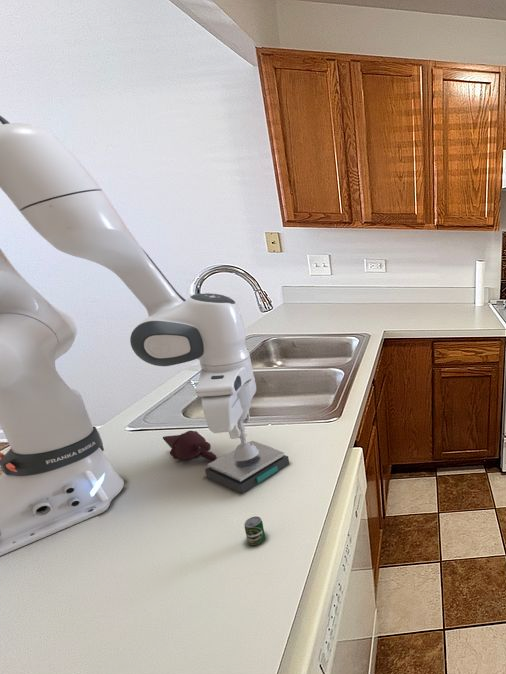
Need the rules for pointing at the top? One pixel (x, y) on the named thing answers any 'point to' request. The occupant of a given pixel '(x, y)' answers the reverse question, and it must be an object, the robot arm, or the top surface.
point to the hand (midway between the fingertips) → (240, 429)
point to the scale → (249, 481)
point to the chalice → (245, 448)
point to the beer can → (254, 530)
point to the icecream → (189, 446)
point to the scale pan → (246, 462)
